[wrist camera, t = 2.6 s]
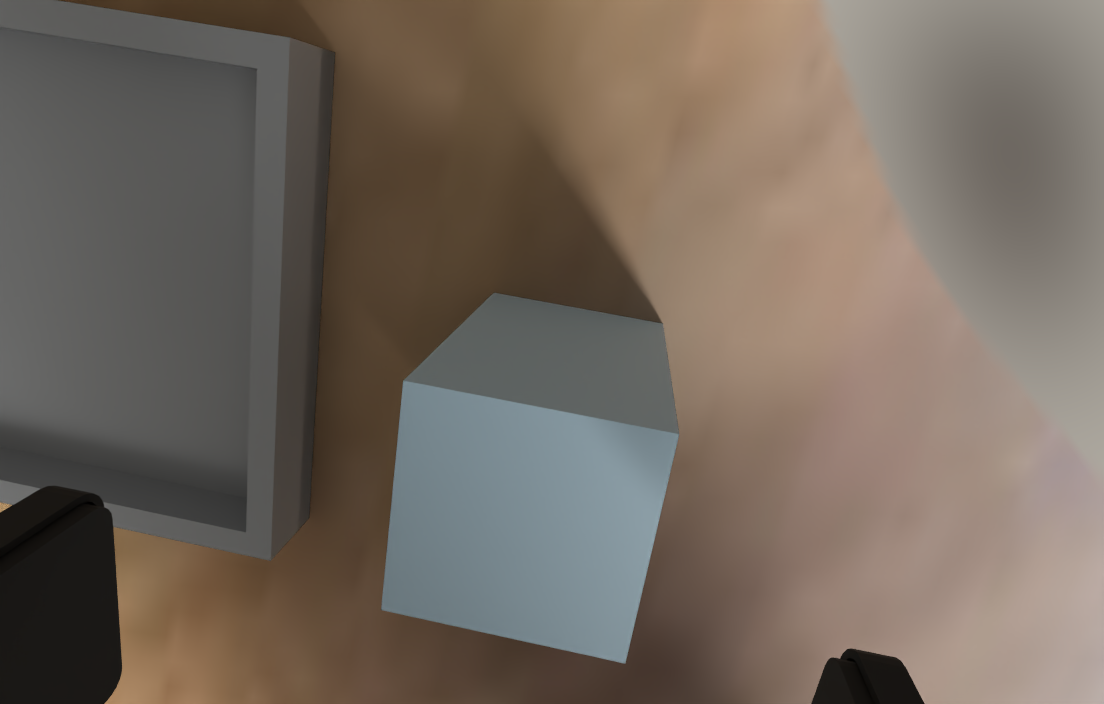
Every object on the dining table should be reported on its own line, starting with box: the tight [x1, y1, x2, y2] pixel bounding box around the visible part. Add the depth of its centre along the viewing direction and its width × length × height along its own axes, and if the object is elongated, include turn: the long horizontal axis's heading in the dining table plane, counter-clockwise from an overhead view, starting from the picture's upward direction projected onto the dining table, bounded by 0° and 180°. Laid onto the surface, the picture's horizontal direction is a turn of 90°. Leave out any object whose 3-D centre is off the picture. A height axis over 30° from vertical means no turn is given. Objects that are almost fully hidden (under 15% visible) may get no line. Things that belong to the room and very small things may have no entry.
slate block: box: [381, 293, 679, 663], centre depth 16 cm, size 5×5×8 cm
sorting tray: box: [0, 0, 335, 561], centre depth 20 cm, size 15×15×2 cm
